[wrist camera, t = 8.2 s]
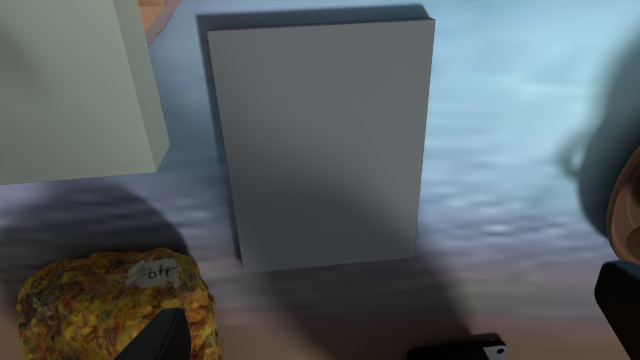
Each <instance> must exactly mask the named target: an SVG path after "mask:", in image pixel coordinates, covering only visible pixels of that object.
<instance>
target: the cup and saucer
mask: <svg viewBox="0 0 640 360" xmlns="http://www.w3.org/2000/svg"><path fill="white" fill-rule="evenodd" d="M606 229H607V235H608V239H609V242H610V245H611V247H612V249H613V251H614V253H615V254H616V255H617V257H618V258H619V260H627V261H630V262H632V263H635V264H637V265H640V144H639V145H638V147H637V148H636V149H635V150H634V152H633V153H632V155H631V156H630V157H629V159H628V160H627V162H626V164H625V165H624V167H623V168H622V170H621V172H620V174H619V176H618V178H617V180H616V183H615V185H614V188H613V190H612V194H611V197H610V200H609V204H608V209H607V217H606Z"/></svg>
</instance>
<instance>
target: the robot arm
mask: <svg viewBox="0 0 640 360" xmlns="http://www.w3.org/2000/svg"><path fill="white" fill-rule="evenodd" d="M594 295H595V299H596V302H597V304H598V305H599V307H600V309H601V310H602V312H603V314H604V315H605V317H606V319H607V320H608V322H609V324H610V326H611V327H612V329H613V331H614V332H615V334H616V336H617V337H618V339H619V341H620V342H621V344H622V346H623V347H624V349H625V351H626V352H627V354H628V356H629V357H630V359H631V360H640V265H637V264H635V263H632V262H630V261H627V260H614V261H607V262H605V263H604V264H603V265H602V267H601V270H600V273H599V276H598V280H597V283H596V286H595V290H594ZM191 347H192V340H191V334H190V330H189V326H188V323H187V319H186V315H185V312H184V310H183V308H181V307H174V308H165V309H162V310H160V311H159V312H158V313H157V314H156V315H155V316H154V317H153V318H152V319H151V321H150V322H149V323H148V324H147V325H146V326H145V327H144V328H143V329H142V330H141V331H140V332H139V333H138V334H137V335H136V336H135V337H134V338H133V339H132V340H131V341H130V342H129V344H128V345H127V346H126V347H125V348H124V349H123V350H122V351H121V352H120V353H119V354H118V355H117V356H116V357H115V358H114V359H113V360H190V357H191ZM507 352H508V348H507V346H506V344H505V343H504V342H503V341H491V342H482V343H473V344H464V345H455V346H445V347H436V348H427V349H418V350H412V351H410V352H409V353H408V354H407V356H406V360H506V356H507Z"/></svg>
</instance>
